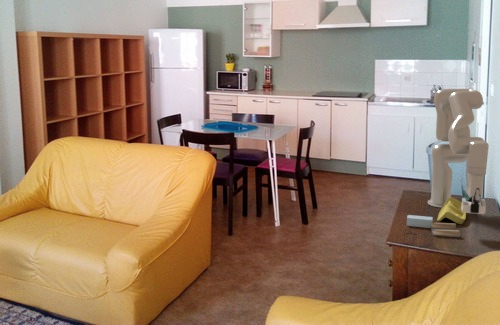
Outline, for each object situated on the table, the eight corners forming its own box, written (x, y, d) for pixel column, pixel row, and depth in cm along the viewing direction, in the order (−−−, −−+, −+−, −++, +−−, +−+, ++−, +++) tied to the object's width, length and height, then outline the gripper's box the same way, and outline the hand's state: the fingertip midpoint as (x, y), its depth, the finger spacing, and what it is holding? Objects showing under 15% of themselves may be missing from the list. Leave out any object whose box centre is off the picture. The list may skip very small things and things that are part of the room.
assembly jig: (430, 227, 232) (430, 222, 232) (456, 229, 230) (456, 223, 229) (433, 235, 223) (433, 230, 222) (460, 237, 220) (460, 231, 220)
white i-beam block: (461, 208, 226) (462, 197, 225) (483, 210, 223) (484, 199, 222) (462, 212, 221) (463, 201, 220) (484, 214, 219) (486, 203, 218)
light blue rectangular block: (407, 223, 240) (407, 214, 239) (432, 225, 236) (432, 217, 235) (406, 226, 236) (407, 217, 235) (431, 228, 232) (432, 220, 231)
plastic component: (465, 220, 234) (444, 209, 236) (456, 233, 237) (436, 222, 240) (467, 205, 251) (448, 195, 254) (459, 217, 254) (440, 206, 257)
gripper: (463, 164, 227) (460, 203, 231) (471, 175, 210) (467, 216, 215) (481, 165, 225) (477, 204, 230) (490, 175, 209) (486, 217, 213)
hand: (473, 209), depth 222 cm, fingers closed on white i-beam block, 5 cm apart
